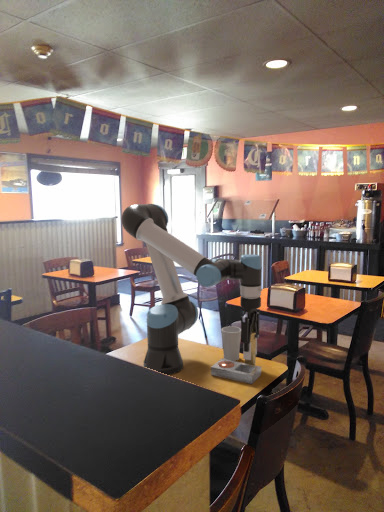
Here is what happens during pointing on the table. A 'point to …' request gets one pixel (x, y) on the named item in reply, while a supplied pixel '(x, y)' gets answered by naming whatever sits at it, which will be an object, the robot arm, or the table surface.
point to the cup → (231, 342)
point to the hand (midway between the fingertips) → (250, 356)
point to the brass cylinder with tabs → (252, 348)
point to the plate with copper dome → (236, 371)
